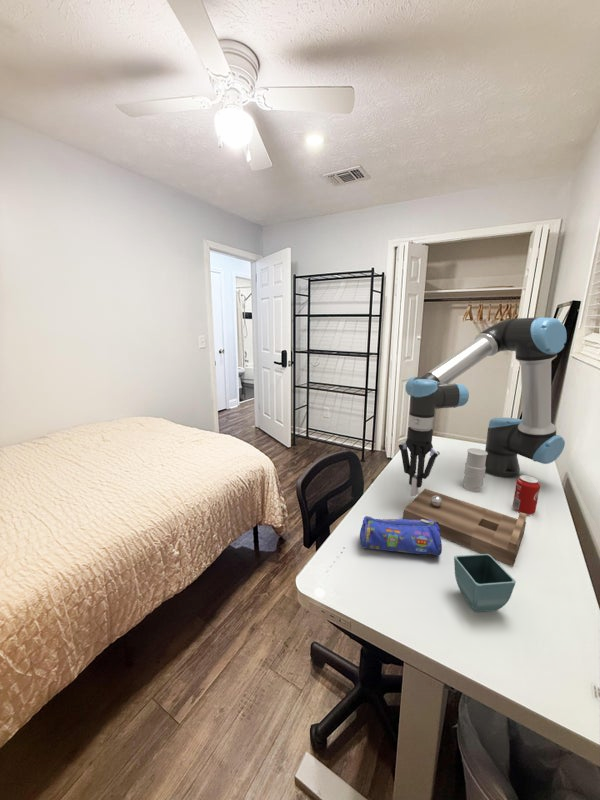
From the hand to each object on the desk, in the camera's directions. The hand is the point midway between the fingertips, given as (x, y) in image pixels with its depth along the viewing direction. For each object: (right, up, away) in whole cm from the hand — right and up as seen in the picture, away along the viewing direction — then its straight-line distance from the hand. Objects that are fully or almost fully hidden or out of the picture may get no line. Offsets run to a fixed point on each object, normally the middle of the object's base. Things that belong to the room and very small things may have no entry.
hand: (414, 494), depth 107 cm
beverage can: (+36, -6, 0) cm, 37 cm away
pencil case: (-11, -10, -18) cm, 23 cm away
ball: (+5, -1, -5) cm, 7 cm away
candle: (+28, -2, +15) cm, 32 cm away
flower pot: (+2, -14, -35) cm, 38 cm away
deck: (+11, -8, -9) cm, 16 cm away
